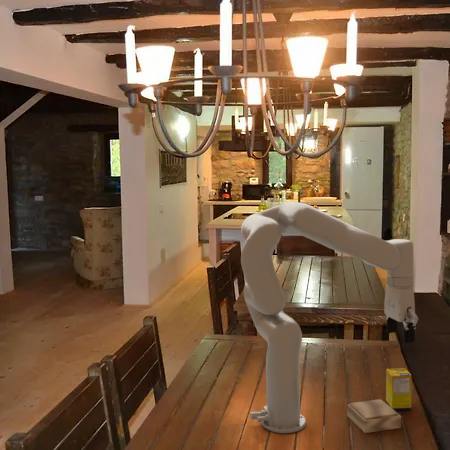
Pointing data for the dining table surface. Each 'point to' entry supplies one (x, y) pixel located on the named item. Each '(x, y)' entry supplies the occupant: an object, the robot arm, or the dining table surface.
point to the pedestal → (373, 416)
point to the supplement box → (398, 389)
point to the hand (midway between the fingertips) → (400, 337)
